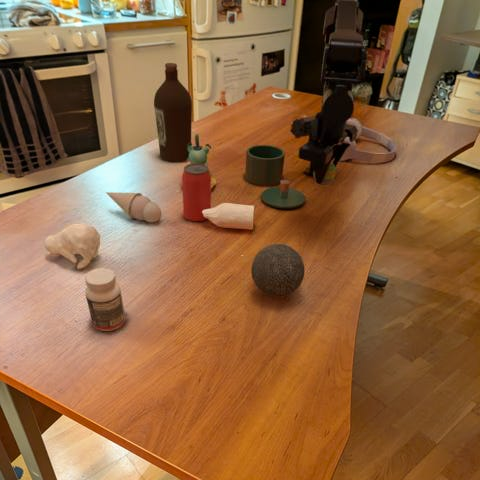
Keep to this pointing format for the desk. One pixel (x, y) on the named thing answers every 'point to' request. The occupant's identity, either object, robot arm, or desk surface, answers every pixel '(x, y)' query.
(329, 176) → the egg
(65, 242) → the beige rounded piece
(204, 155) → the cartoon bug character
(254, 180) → the bin
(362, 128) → the headphones
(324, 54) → the robot arm
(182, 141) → the olive oil
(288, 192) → the bin lid
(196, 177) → the beer can
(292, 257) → the decorative ball
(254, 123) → the desk surface
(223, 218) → the white bottle
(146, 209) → the ice cream cone
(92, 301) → the pill bottle
